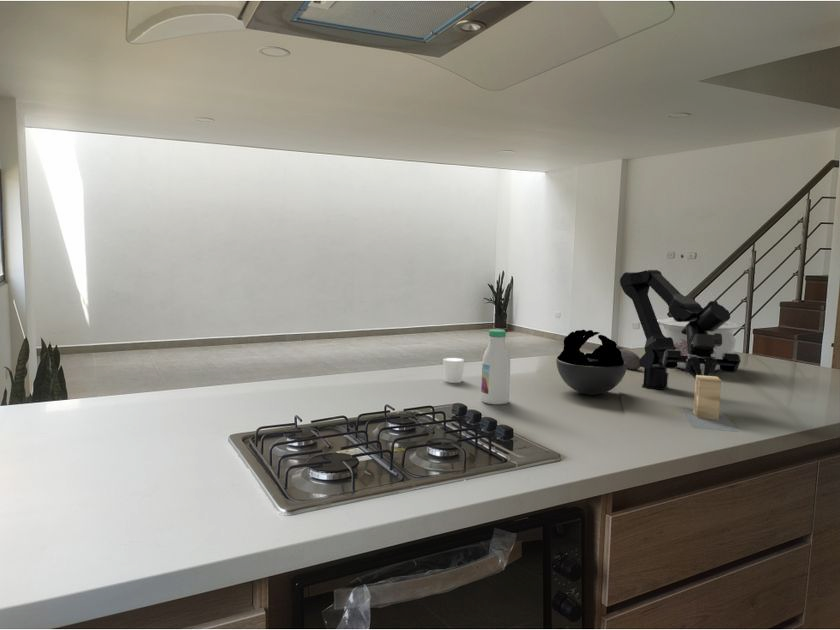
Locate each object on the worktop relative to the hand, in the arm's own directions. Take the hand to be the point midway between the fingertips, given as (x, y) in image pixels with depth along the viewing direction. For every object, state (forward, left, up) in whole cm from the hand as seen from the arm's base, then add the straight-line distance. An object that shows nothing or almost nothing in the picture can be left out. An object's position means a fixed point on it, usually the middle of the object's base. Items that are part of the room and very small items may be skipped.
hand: (703, 387), depth 155 cm
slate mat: (+2, -9, -7) cm, 11 cm away
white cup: (-71, -6, -7) cm, 72 cm away
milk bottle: (-50, -22, -7) cm, 55 cm away
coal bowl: (-30, +2, -7) cm, 31 cm away
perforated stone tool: (-29, +49, -7) cm, 57 cm away
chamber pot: (-7, +64, -7) cm, 65 cm away
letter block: (+1, -6, -6) cm, 9 cm away
